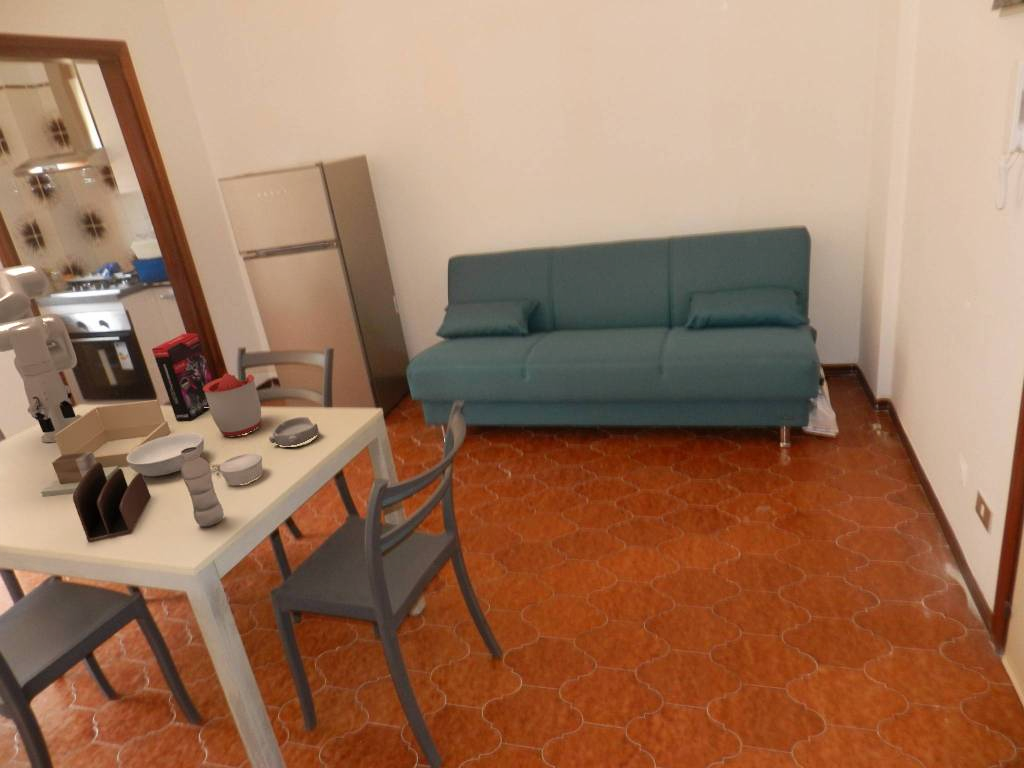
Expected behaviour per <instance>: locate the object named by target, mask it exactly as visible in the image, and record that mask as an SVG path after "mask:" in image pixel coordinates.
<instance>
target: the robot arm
mask: <svg viewBox="0 0 1024 768" xmlns="http://www.w3.org/2000/svg"><path fill="white" fill-rule="evenodd" d="M48 282H49V281H48V278H47V276H46V274H45V272H44V271H43V269H42V268H41V267H40V266H38V265H37V264H34V263H27V264H21V265H15V266H9V267H3V268H0V353H2V352H3V353H4V352H7V351H8V352H10V351H12V350H13V352H14V355H15V356H14V360H13V363H14V364H13V365H14V367H15V369H16V371H17V372H18V374H19V375H20V378H21V379H22V381H23V387H24V391H25V395H26V397H27V401H28V404H29V406H28V408H27V412H28V413H29V414H30V415H31V418H34V419H35V420H36V421H38V424H39V426H40V429H41V431H42V433H43V435H42V436H41V437H40V438H41V441H42V442H43V443H46V442H51V443H57V442H56V439H55V437H54V435H55V434H57V433H58V432H60V431H61V430H63V429H64V428H66V427H67V426H69V425H70V424H71V423H73V422H74V421H76V420H77V419H79V418H80V417H82V415H81V414H76V413H75V411H74V408H73V405H72V403H73V401H72V393H71V386H70V385H65V383H64V381H63V380H62V377H61V374H60V372H65V371H68V370H69V371H70V370H72V369H74V368H75V367H76V366H77V364H78V359H77V354H76V351H75V349H74V346H73V344H72V341H71V338H70V335H69V332H68V329H67V327H66V324H65V322H64V320H63V319H62V318H61V316H59V315H58V314H56V313H47V314H43V315H37V316H35V315H34V313H33V310H32V307H31V305H32V301H31V300H33V299H38V298H42V297H45V296H47V294H48V293H49V283H48Z"/></svg>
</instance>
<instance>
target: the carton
mask: <svg viewBox="0 0 1024 768" xmlns="http://www.w3.org/2000/svg"><path fill="white" fill-rule="evenodd" d="M169 434H171V429H170V426H169V423H168V421H166V420H165V417H164V414H163V411H162V408H161V404H160V402H159V399H153V400H145V401H137V402H135V401H134V402H127V403H119V404H110V405H102V406H97V407H95V408H92V409H91V410H89V411H87V412H86V413H85V414H84V415H81V417H80V418H79V419H77V420H76V421H74V422H73V423H71V424H70V425H69V426H67V427H66V428H64V429H63V430H61V431H60V432H58V433H57V434H55V435H54V437H55V439H56V442H55V443H56V445H57V447H58V449H59V452H60V456H62V455H67V454H76V453H85V452H93V453H94V452H96V451H97V450H98V449H99V447H100V448H101V447H102V446H103V445H104V444H107V442H109V441H115V440H124V439H125V438H126V439H133V438H134V439H135V438H140V437H141V436H142V437H145V438H144V439H142V440H141V441H140V442H139V443H138V444H136V445H135V446H134V447H132V449H130V451H128V452H127V451H125V452H119V453H117V452H116V453H108V454H100V455H94V457H95V460H96V463H98V462H100V463H101V464H102V467H103V468H107V467H115V466H118V467H119V468H121V467H128V466H129V464H128V462H127V460H126V458H127V455H128V454H129V453H130V452H131V451H132V450H134V449H135V448H137V447H139V446H141V445H143V444H145V443H147V442H150V441H152V440H155V439H158V438H161V437H165V436H169ZM126 439H125V440H126ZM129 467H130V466H129Z"/></svg>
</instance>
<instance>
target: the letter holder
mask: <svg viewBox="0 0 1024 768" xmlns="http://www.w3.org/2000/svg"><path fill="white" fill-rule="evenodd" d="M151 496H152V495H151V493H150V491H149V488H148V486H147V482H146V481H145V478H144V475H142V473H137V474H136V475H135V476H134V477H133V478H132V480H131V481H130V482H129V484H128V482H127V479H126V477H125V474H124V470H123V469H122V468H121V467H119V469H118V470H117V471H115V472H114V473H113V474H112V476H111V477H110V478H109V479H108V480H107V479H106V476H105V473H104V470H103V467H102V464H101V463H100V462H98V463H96V464H95V465H94V466H92V467H91V468H90V469H89V471H88V472H87V473H86V474H85V476H84V477H83V479H82V480H81V482H80V483H79V485H78V486H77V488H76V490H75V492H74V493H72V501H73V503H74V506H75V509H76V513H77V515H78V517H79V520H80V522H81V526H82V529H83V532H84V534H85V537H86V540H87V543H93V542H98V541H101V540H103V541H104V540H107V539H112V538H116V537H121V536H125V535H129V534H132V533H133V530H134V528H135V527H136V525H137V523H138V521H139V519H140V517H141V515H142V513H143V511H144V510H145V508H146V506H147V504H148V502H149V500H150V498H151Z"/></svg>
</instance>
